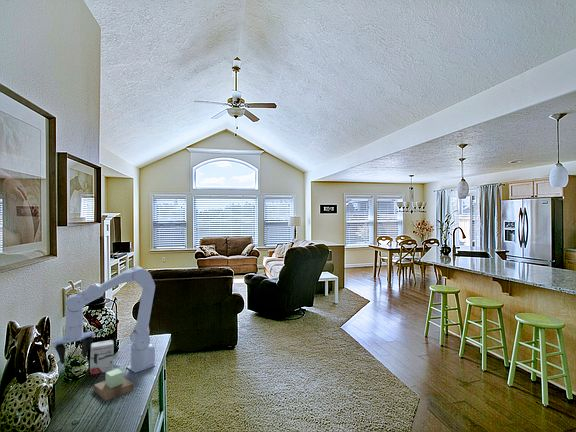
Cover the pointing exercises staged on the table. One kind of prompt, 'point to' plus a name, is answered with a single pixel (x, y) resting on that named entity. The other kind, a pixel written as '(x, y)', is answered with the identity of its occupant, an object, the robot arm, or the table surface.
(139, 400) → the table surface
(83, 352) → the robot arm
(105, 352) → the ink box
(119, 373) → the sage cube
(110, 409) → the table surface
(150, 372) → the table surface
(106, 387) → the walnut block
